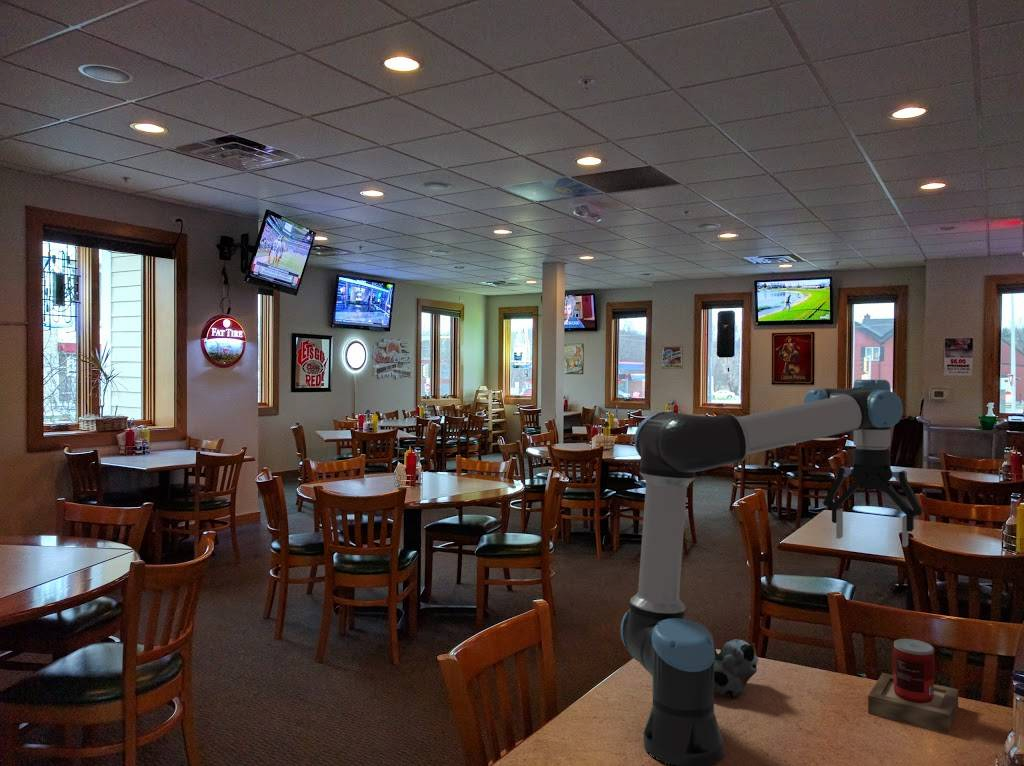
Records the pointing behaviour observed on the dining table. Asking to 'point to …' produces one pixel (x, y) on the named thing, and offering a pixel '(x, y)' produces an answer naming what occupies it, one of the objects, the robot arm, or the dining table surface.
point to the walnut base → (914, 705)
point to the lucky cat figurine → (734, 667)
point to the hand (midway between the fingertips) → (871, 541)
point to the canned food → (913, 670)
